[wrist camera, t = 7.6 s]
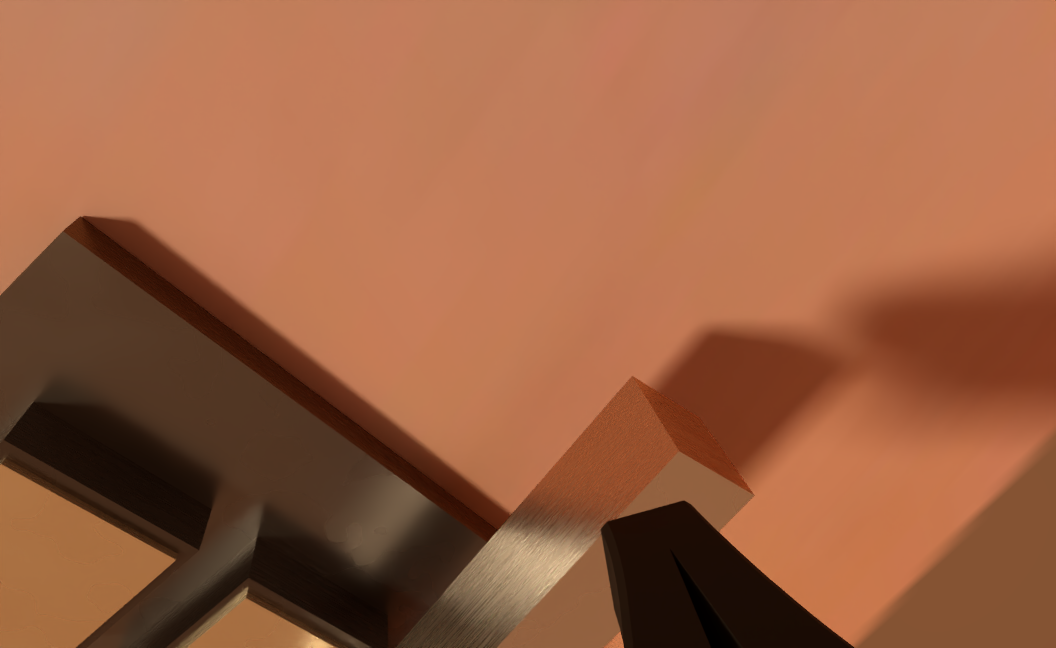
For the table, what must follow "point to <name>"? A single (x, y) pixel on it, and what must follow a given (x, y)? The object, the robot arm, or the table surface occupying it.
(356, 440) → the tray
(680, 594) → the robot arm
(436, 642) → the beige rectangular bar
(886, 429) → the table surface
